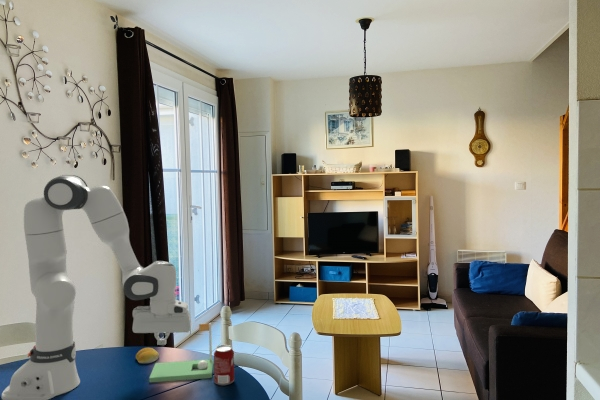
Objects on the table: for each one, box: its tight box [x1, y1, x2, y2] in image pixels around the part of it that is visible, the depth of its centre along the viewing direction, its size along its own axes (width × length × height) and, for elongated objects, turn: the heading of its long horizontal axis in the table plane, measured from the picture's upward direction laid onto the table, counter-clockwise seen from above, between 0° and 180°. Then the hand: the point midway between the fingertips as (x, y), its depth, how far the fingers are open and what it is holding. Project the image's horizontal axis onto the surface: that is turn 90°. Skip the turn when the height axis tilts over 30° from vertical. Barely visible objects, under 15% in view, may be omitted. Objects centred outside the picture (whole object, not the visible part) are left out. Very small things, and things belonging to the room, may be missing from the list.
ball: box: [198, 359, 208, 370], centre depth 157 cm, size 4×4×4 cm
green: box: [148, 322, 214, 383], centre depth 155 cm, size 21×12×16 cm, turn 99°
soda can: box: [213, 344, 235, 387], centre depth 148 cm, size 7×7×12 cm
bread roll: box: [135, 347, 160, 364], centre depth 168 cm, size 8×9×4 cm
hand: (161, 344), depth 156 cm, fingers closed
